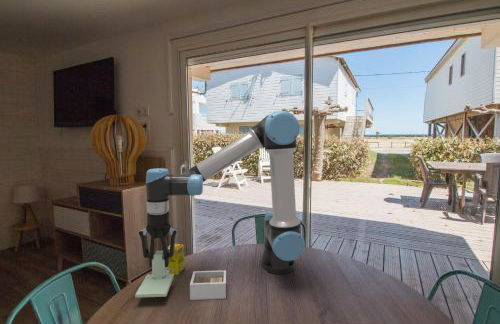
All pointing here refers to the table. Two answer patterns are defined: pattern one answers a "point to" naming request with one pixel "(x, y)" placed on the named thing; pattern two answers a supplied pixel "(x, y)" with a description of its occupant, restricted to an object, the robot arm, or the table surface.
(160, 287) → the lid
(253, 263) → the table surface
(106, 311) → the table surface
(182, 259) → the supplement box
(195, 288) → the tub
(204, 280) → the walnut cube
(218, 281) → the beech cube
